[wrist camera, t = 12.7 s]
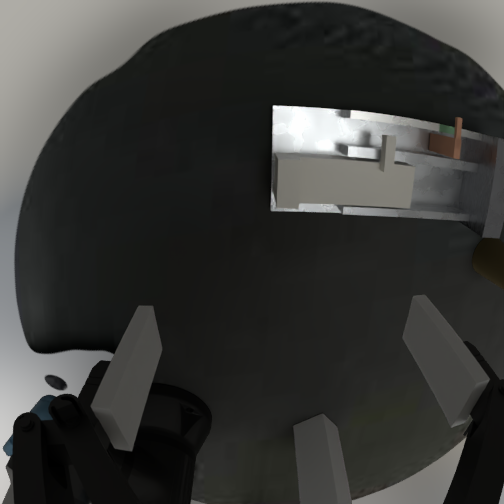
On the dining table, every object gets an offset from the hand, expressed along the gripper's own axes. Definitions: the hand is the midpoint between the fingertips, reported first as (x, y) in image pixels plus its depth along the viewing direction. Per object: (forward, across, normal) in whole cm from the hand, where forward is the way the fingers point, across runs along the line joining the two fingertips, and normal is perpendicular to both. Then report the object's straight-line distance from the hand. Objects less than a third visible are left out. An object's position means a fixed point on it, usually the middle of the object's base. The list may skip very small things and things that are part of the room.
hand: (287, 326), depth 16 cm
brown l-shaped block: (+20, +19, +9) cm, 29 cm away
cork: (+21, +32, -6) cm, 39 cm away
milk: (+22, +9, -40) cm, 46 cm away
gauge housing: (+21, +14, +5) cm, 25 cm away
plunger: (+20, +8, +5) cm, 22 cm away
